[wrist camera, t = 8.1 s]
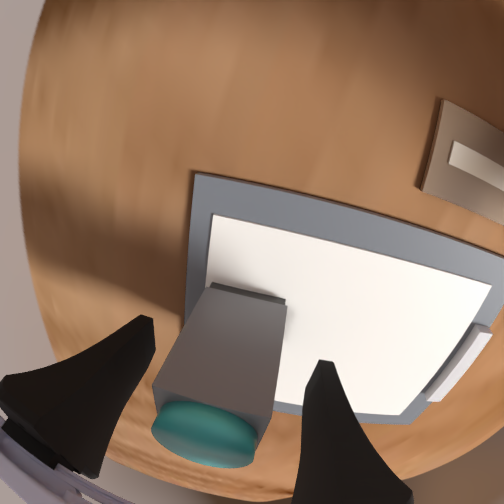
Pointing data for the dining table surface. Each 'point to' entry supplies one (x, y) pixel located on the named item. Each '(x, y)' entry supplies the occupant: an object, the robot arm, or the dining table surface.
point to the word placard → (467, 163)
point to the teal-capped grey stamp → (221, 378)
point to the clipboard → (348, 292)
